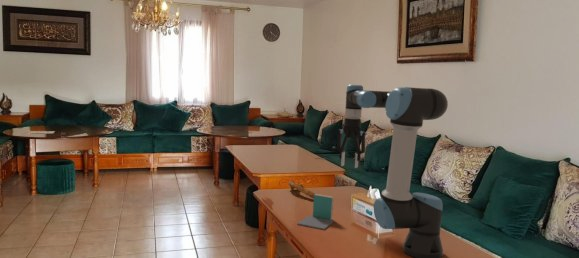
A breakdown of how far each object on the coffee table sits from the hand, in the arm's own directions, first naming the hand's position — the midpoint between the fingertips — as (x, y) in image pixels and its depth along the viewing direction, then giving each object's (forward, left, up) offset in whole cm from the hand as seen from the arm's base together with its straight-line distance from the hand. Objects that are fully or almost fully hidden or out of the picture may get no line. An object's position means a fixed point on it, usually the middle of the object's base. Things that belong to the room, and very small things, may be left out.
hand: (349, 166), depth 222 cm
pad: (+9, +16, -25) cm, 31 cm away
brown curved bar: (+32, -24, -26) cm, 47 cm away
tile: (+9, +8, -25) cm, 28 cm away
